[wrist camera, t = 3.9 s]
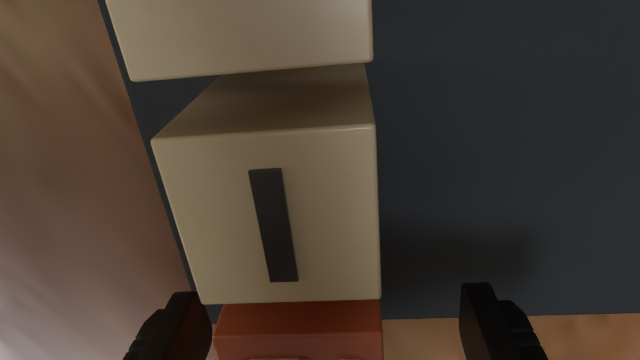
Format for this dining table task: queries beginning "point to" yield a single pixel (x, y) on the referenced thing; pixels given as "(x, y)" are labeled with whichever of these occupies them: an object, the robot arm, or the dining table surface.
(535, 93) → the word mat
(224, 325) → the red block
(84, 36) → the dining table surface
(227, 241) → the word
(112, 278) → the dining table surface
